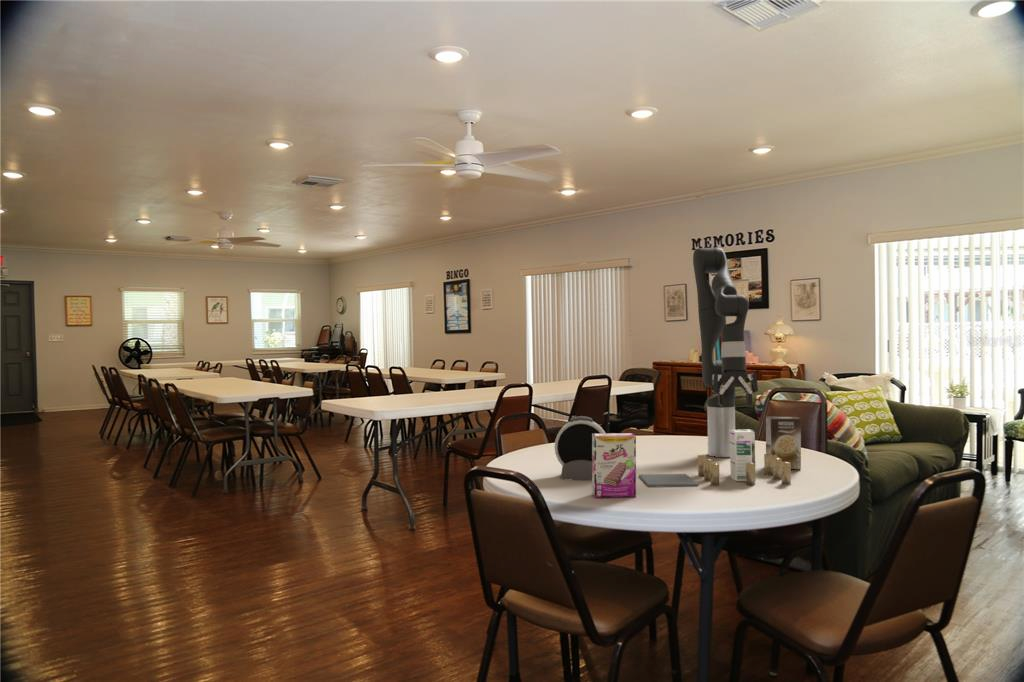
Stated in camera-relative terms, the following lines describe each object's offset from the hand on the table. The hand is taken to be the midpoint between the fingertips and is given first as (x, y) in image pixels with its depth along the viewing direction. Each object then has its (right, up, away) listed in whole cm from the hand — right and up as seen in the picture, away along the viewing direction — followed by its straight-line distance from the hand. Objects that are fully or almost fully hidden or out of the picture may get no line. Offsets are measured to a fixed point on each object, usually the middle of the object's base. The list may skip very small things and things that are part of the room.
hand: (735, 406), depth 218 cm
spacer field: (-5, -19, -22) cm, 30 cm away
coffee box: (+13, -19, -7) cm, 24 cm away
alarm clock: (-51, -20, -14) cm, 57 cm away
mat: (-27, -20, -22) cm, 40 cm away
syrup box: (-5, -20, -22) cm, 30 cm away
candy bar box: (-45, -20, -39) cm, 63 cm away
